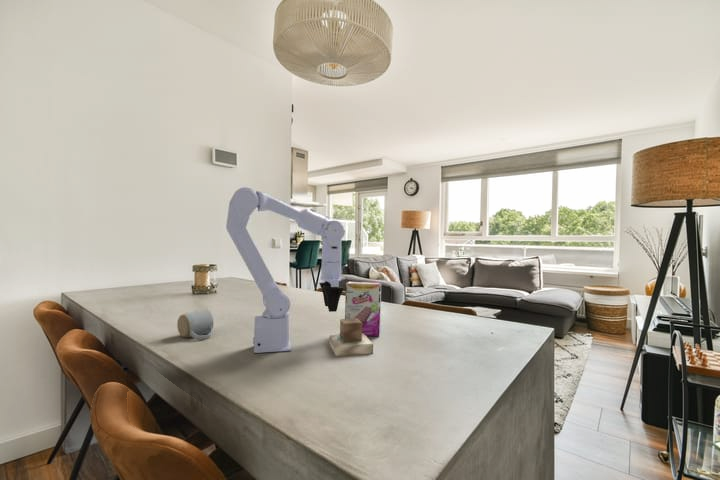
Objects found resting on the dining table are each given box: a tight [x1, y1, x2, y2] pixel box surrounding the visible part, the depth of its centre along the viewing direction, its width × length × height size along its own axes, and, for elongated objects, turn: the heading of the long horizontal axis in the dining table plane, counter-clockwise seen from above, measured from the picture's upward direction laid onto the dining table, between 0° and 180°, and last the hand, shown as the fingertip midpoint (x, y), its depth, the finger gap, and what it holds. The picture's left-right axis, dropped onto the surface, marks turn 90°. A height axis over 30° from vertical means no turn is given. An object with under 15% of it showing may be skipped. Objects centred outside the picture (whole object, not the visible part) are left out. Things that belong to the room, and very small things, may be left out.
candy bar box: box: [344, 281, 382, 338], centre depth 107 cm, size 11×5×16 cm, turn 84°
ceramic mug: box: [176, 308, 214, 341], centre depth 103 cm, size 11×8×8 cm
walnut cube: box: [339, 318, 362, 342], centre depth 93 cm, size 5×5×5 cm
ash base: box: [329, 334, 374, 357], centre depth 93 cm, size 10×10×3 cm
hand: (330, 308), depth 98 cm, fingers open, 7 cm apart
